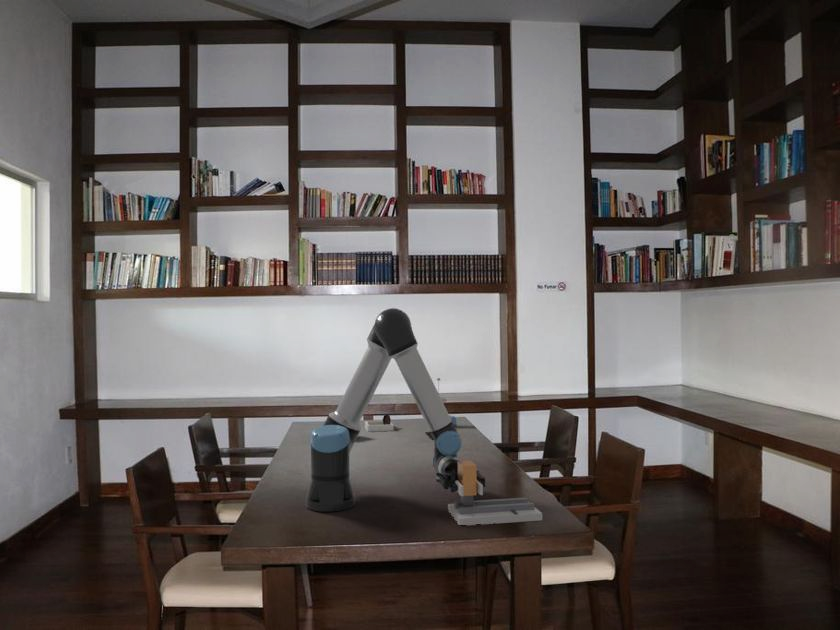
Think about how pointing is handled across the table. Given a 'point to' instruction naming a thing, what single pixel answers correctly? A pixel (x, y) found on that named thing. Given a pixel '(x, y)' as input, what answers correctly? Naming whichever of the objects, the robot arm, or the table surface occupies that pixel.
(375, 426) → the watch dish
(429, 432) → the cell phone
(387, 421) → the compass
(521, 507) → the fader console
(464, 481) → the fader
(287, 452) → the table surface
